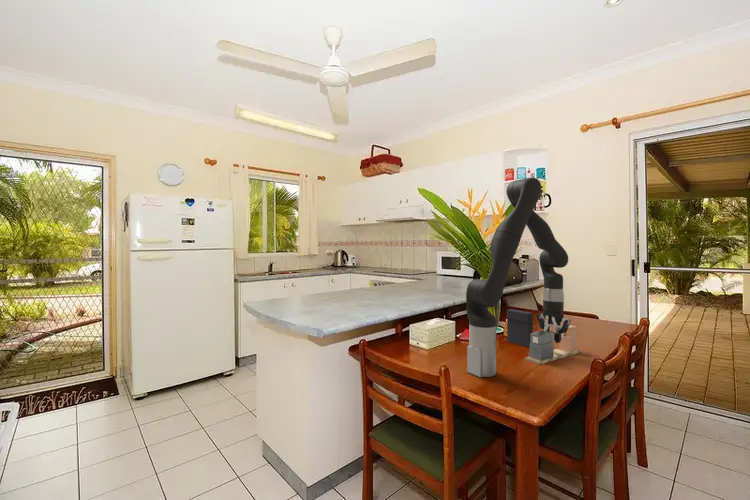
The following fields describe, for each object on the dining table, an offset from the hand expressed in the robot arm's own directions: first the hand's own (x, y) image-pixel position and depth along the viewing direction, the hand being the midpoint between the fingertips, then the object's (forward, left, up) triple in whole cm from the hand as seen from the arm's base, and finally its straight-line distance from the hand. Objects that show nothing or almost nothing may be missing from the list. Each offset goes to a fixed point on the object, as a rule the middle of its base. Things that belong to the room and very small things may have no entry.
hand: (552, 341), depth 142 cm
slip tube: (-3, 0, +1) cm, 3 cm away
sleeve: (-8, 0, -6) cm, 10 cm away
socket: (+10, 0, -6) cm, 12 cm away
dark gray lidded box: (+4, +18, -6) cm, 19 cm away
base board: (0, 0, -6) cm, 6 cm away
